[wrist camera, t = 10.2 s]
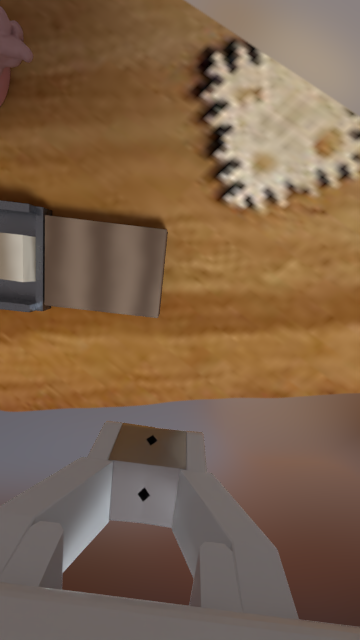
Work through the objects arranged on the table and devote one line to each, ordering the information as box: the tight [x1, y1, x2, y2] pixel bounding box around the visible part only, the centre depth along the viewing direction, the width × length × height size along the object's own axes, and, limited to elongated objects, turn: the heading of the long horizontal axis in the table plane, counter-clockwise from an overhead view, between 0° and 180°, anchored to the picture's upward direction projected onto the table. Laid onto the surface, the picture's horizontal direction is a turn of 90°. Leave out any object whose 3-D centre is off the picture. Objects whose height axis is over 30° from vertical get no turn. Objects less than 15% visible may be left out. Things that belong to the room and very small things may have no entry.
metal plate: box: [45, 215, 168, 318], centre depth 38 cm, size 16×12×3 cm
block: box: [0, 233, 36, 282], centre depth 36 cm, size 6×6×3 cm
